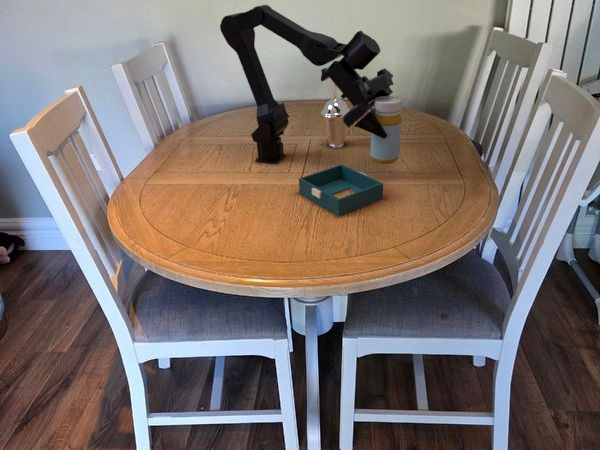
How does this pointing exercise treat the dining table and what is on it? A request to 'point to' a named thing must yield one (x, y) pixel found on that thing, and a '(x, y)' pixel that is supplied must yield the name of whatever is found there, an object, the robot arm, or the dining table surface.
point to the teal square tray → (340, 189)
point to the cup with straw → (335, 120)
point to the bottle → (387, 130)
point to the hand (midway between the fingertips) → (391, 132)
